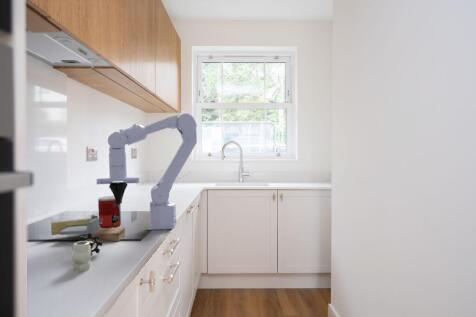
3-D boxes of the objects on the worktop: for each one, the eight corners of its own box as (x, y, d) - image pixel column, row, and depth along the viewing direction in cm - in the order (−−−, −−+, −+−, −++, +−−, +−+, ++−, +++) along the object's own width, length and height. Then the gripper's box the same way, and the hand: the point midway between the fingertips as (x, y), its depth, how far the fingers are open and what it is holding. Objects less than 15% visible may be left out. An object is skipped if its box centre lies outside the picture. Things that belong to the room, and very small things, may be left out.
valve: (95, 271, 74) (103, 254, 86) (94, 244, 74) (102, 231, 86) (64, 274, 72) (77, 257, 84) (64, 246, 72) (76, 233, 84)
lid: (100, 228, 104) (99, 218, 104) (92, 233, 97) (92, 222, 97) (69, 229, 103) (69, 219, 103) (59, 234, 96) (59, 223, 96)
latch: (97, 229, 107) (97, 215, 107) (51, 235, 101) (50, 220, 100) (97, 228, 108) (97, 214, 108) (52, 233, 102) (51, 219, 102)
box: (125, 235, 105) (124, 227, 105) (118, 241, 98) (118, 233, 98) (94, 236, 104) (94, 228, 104) (86, 242, 97) (86, 234, 97)
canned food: (116, 228, 114) (115, 199, 114) (95, 228, 114) (94, 199, 114) (124, 223, 122) (123, 195, 121) (104, 223, 122) (103, 196, 121)
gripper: (92, 167, 105) (94, 206, 105) (135, 166, 106) (136, 204, 107) (100, 166, 112) (101, 202, 112) (140, 165, 113) (141, 201, 114)
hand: (119, 203), depth 110 cm, fingers closed
